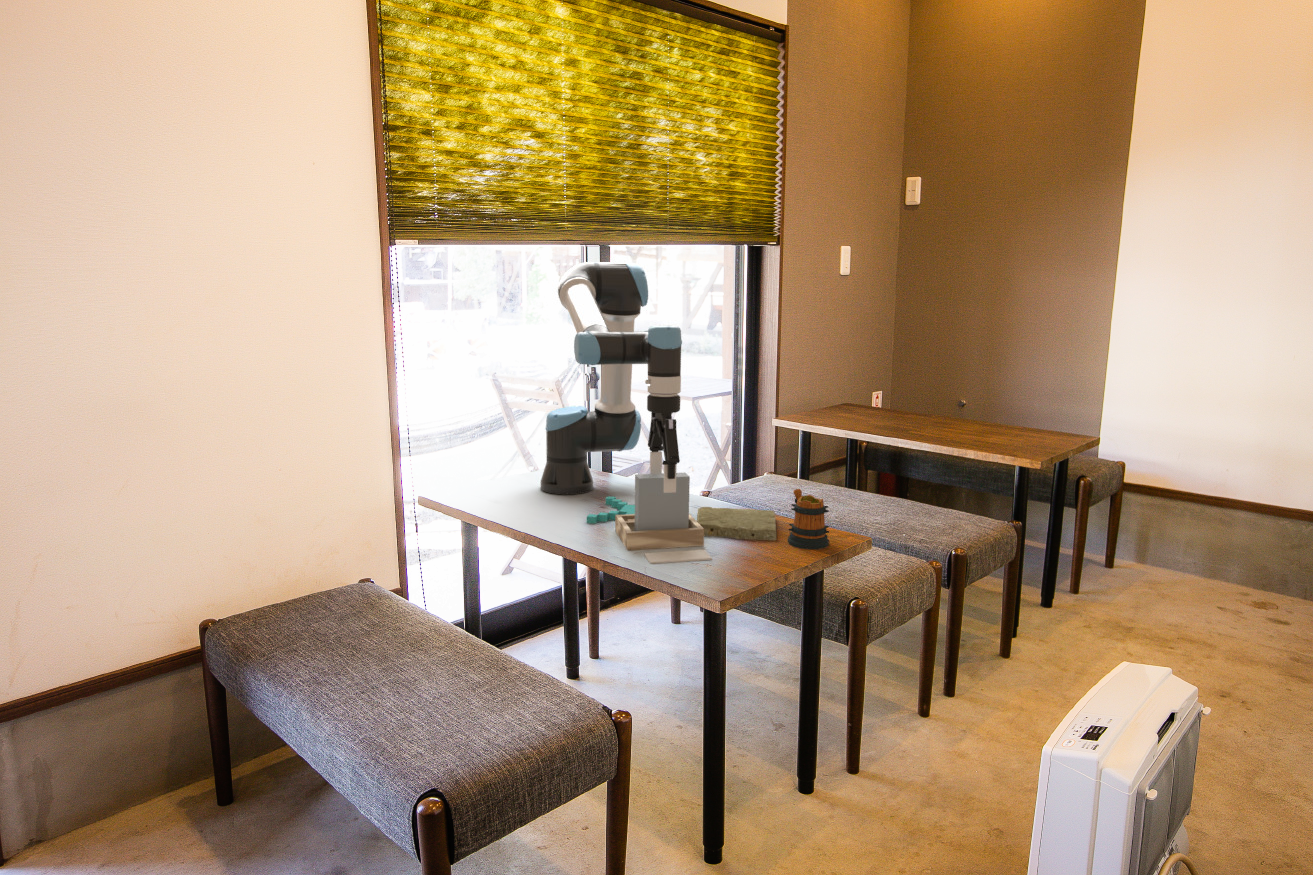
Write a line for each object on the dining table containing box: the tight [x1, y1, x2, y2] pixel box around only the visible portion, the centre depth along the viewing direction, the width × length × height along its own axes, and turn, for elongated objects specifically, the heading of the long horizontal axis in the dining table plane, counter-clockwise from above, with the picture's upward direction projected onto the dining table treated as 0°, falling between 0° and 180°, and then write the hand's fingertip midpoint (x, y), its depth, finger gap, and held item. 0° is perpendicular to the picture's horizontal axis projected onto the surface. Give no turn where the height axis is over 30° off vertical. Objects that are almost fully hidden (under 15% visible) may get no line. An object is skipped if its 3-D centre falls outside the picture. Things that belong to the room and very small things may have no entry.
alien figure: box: [586, 496, 635, 525], centre depth 227 cm, size 20×2×20 cm
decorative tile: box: [696, 506, 777, 541], centre depth 218 cm, size 19×20×4 cm
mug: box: [787, 488, 830, 551], centre depth 207 cm, size 13×10×12 cm
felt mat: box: [643, 549, 713, 565], centre depth 195 cm, size 6×14×1 cm, turn 103°
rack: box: [614, 513, 705, 551], centre depth 208 cm, size 15×18×4 cm
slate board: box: [634, 472, 691, 531], centre depth 204 cm, size 4×12×16 cm, turn 103°
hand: (662, 485), depth 203 cm, fingers open, 13 cm apart
